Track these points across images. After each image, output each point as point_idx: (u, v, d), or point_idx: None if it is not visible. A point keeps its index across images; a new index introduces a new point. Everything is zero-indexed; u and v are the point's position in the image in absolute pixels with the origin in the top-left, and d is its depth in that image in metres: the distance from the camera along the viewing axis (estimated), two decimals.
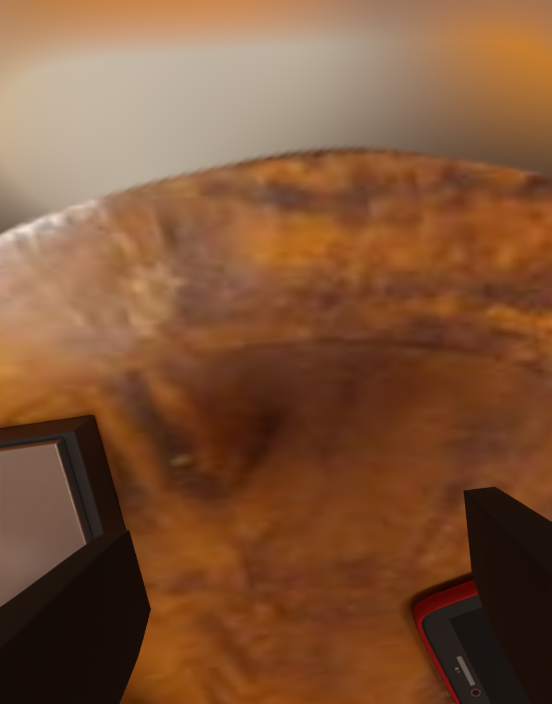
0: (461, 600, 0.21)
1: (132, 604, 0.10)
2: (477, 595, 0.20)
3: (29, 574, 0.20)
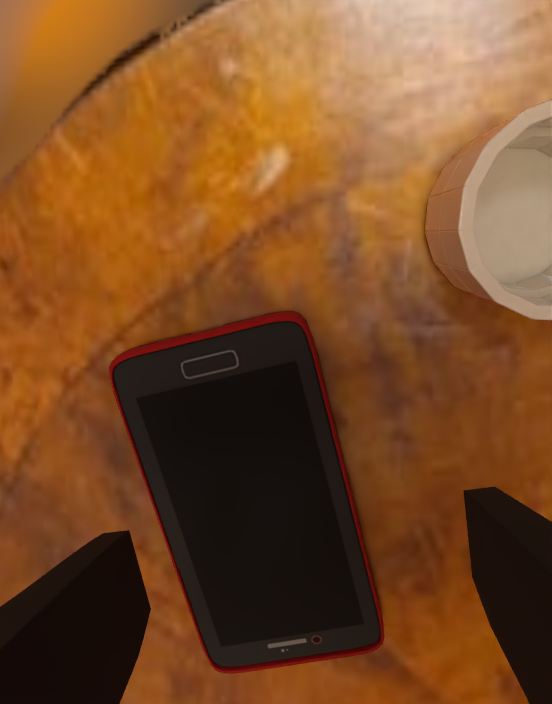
0: (201, 632, 0.21)
1: (132, 604, 0.10)
2: (197, 619, 0.20)
3: None
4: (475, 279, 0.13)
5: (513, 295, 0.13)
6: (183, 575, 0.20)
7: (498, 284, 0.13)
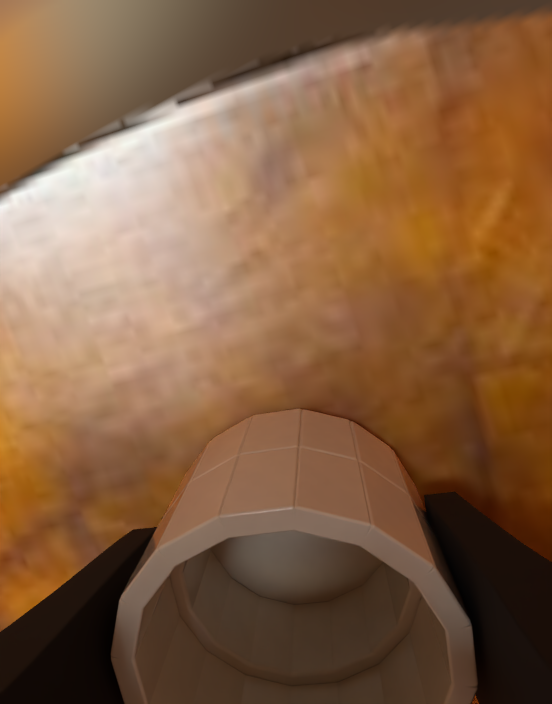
0: None
1: None
2: None
3: None
4: None
5: None
6: None
7: None
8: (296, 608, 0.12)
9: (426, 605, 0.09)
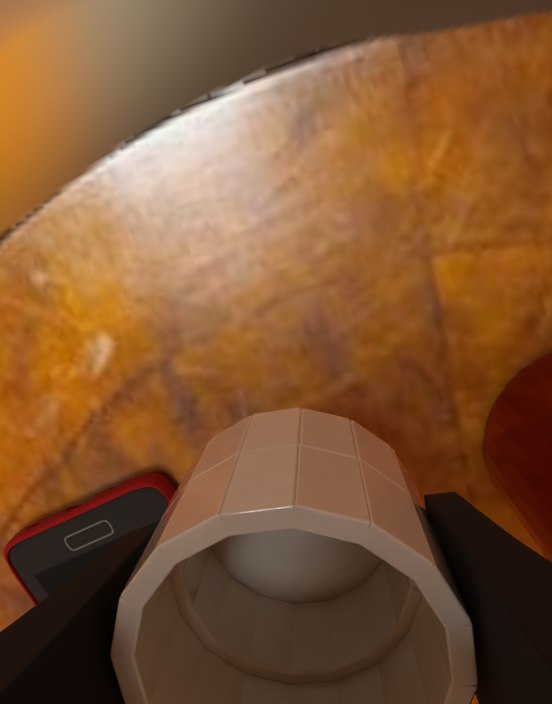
0: None
1: None
2: None
3: None
4: None
5: None
6: None
7: None
8: (296, 606, 0.12)
9: (426, 604, 0.09)
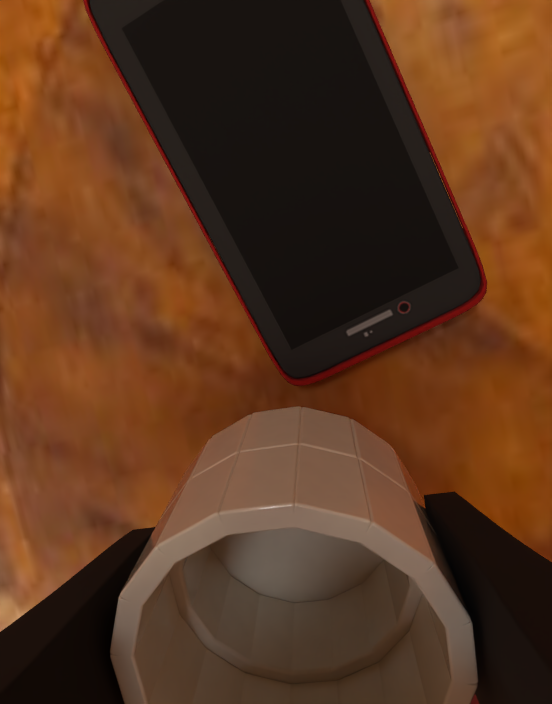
0: (264, 337, 0.17)
1: None
2: (255, 319, 0.17)
3: None
4: None
5: None
6: (227, 262, 0.16)
7: None
8: (296, 606, 0.12)
9: (426, 603, 0.09)
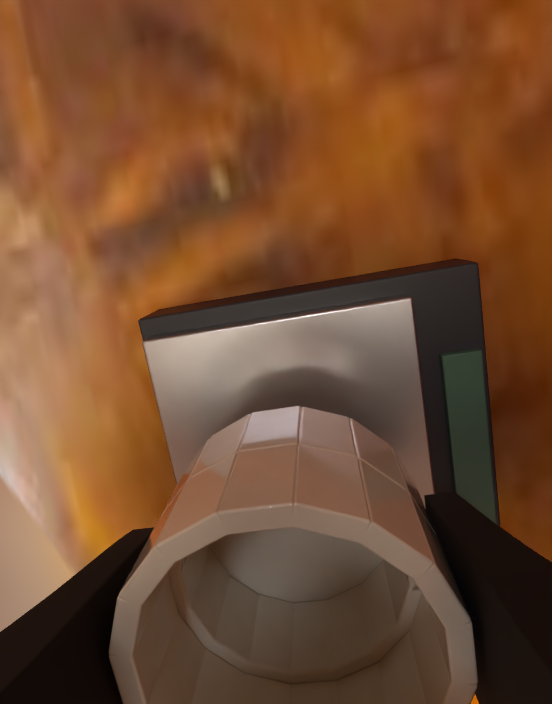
0: None
1: None
2: None
3: (367, 412, 0.13)
4: None
5: None
6: None
7: None
8: (295, 606, 0.12)
9: (426, 603, 0.09)
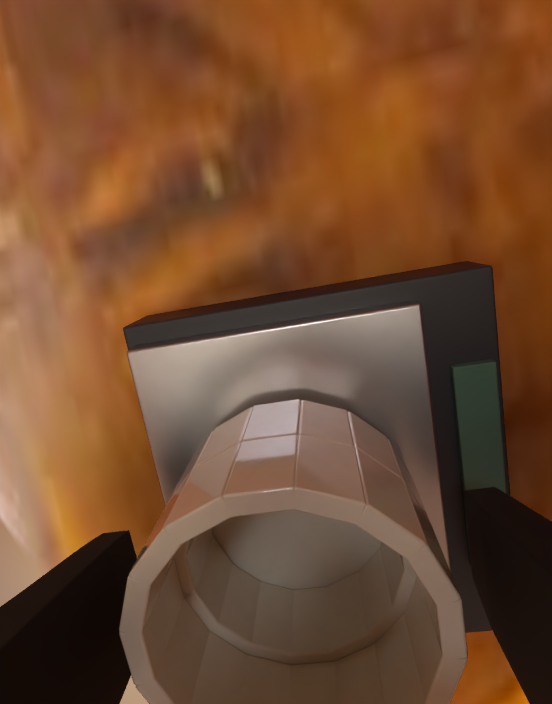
0: None
1: None
2: None
3: None
4: None
5: None
6: None
7: None
8: (295, 593, 0.12)
9: (420, 585, 0.09)
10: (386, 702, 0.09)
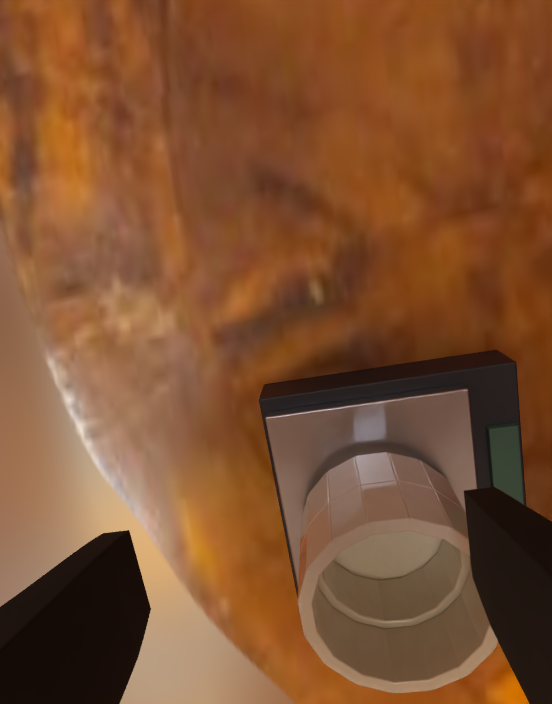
0: None
1: (132, 604, 0.10)
2: None
3: None
4: (332, 667, 0.14)
5: (370, 677, 0.14)
6: None
7: (353, 672, 0.14)
8: (379, 583, 0.18)
9: None
10: (454, 647, 0.14)
